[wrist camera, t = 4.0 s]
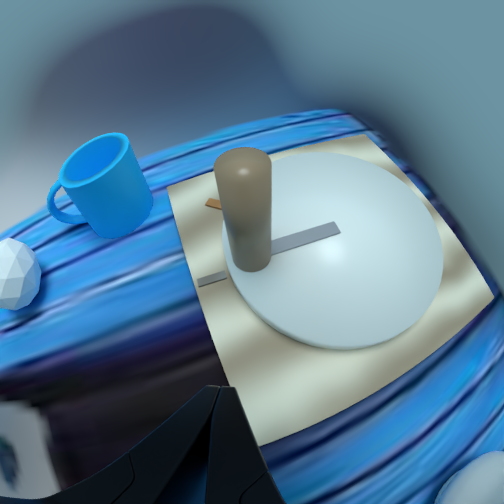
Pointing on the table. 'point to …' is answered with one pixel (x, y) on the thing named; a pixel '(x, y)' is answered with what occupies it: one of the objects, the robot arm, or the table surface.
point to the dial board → (297, 353)
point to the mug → (104, 187)
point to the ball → (17, 274)
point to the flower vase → (476, 482)
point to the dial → (327, 246)
